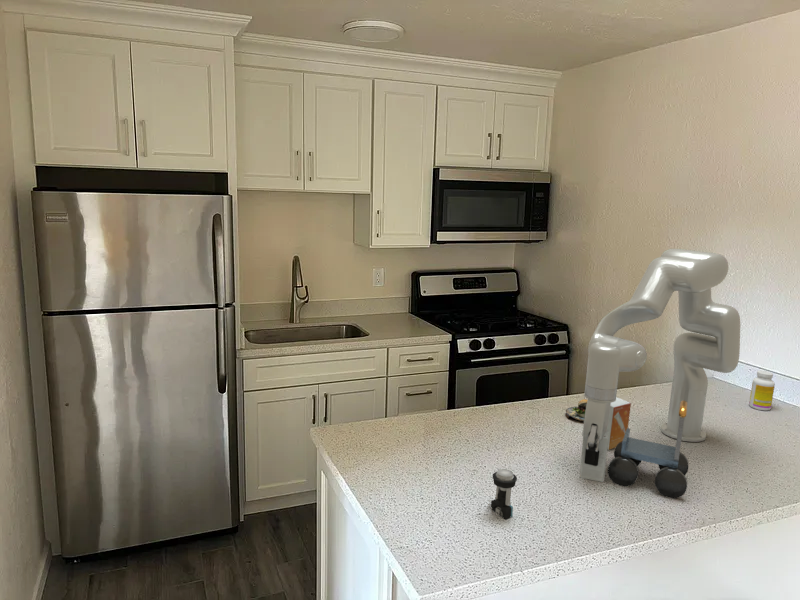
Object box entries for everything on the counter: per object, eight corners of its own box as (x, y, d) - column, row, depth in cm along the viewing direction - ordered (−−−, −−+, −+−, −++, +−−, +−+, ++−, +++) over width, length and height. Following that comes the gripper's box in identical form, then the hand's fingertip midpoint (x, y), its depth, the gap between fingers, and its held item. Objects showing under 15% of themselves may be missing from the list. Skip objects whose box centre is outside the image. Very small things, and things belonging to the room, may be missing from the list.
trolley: (613, 461, 162) (622, 386, 158) (686, 478, 154) (697, 399, 150) (606, 482, 150) (615, 401, 146) (684, 501, 142) (696, 417, 138)
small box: (608, 450, 169) (613, 407, 166) (590, 442, 174) (595, 400, 171) (626, 444, 173) (631, 402, 171) (608, 436, 178) (613, 395, 176)
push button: (480, 509, 135) (483, 468, 133) (496, 502, 138) (499, 462, 136) (502, 523, 130) (505, 480, 128) (518, 515, 133) (522, 474, 131)
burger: (562, 420, 190) (564, 398, 188) (567, 409, 200) (570, 388, 199) (601, 428, 185) (604, 405, 184) (605, 415, 196) (607, 394, 194)
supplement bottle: (774, 411, 205) (780, 376, 203) (755, 410, 205) (761, 375, 203) (763, 404, 212) (769, 370, 209) (744, 403, 212) (750, 369, 209)
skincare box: (604, 475, 154) (609, 432, 151) (603, 482, 150) (608, 438, 147) (580, 470, 156) (584, 427, 153) (578, 477, 152) (583, 433, 149)
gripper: (591, 380, 157) (584, 443, 161) (578, 399, 142) (571, 469, 146) (620, 385, 154) (613, 450, 158) (611, 405, 139) (603, 477, 142)
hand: (593, 458), depth 152 cm, fingers open, 6 cm apart
